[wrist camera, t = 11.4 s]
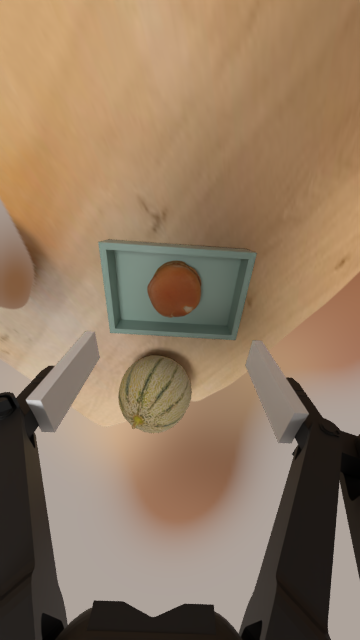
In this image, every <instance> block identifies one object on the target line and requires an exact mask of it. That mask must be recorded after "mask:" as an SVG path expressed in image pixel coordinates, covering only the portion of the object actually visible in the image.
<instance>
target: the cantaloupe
mask: <svg viewBox="0 0 360 640" xmlns="http://www.w3.org/2000/svg"><path fill="white" fill-rule="evenodd" d="M191 393H192V391H191V383H190V379H189V377H188V376H187V373H186V371H185V370H184V369H183V367H182V366H181V365H179V364H178V363H176V362H175V361H174V360H172V359H171V358H167V357H164V356H158V355H151V356H147V357H144V358H142V359H140V360H138V361H137V362H135V363H134V364H133V365H132V366H131V367H129V368H128V370H127V371H126V373H125V374H124V376H123V378H122V381H121V384H120V389H119V405H120V409H121V411H122V413H123V416H124V417H125V419H126V420H127V421H128V422H129V423H130V424H131V425H132V428H133V429H135V428H137V429H140V430H142V431H144V432H148V433H159V432H163V431H166V430H168V429H170V428H172V427H173V426H174V425H176V424H177V423H178V422H179V421H180V419H181V418H182V417H183V415H184V413H185V412H186V410H187V408H188V406H189V403H190V400H191Z"/></svg>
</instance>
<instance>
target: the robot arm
mask: <svg viewBox="0 0 360 640" xmlns="http://www.w3.org/2000/svg"><path fill="white" fill-rule="evenodd" d="M99 358H100V356H99V351H98V346H97V341H96V336H95V332H93V331H85V332H84V333H83V334H82V336H81V337H80V338H79V339H78V340H77V341H76V342H75V344H74V345H73V346H72V347H71V348H70V349H69V351H68V352H67V353H66V354H65V355H64V356H63V357H62V359H61V360H60V361H59V362H58V363H57V364H56V365H55V366H48V367H47V368H45V369H44V370H42V371H41V372H40V373H39V374H38V375H37V376H36V378H34V379H33V380H32V382H31V383H30V384H29V385H28V386H27V387H26V388H25V389H24V390H23V391H22V392H21V393H20V394H19V396H18V397H17V398H15V396H14V394H13V393H10V392H4V393H0V640H331V639H330V637H329V634H328V613H329V612H328V611H329V600H330V588H331V575H332V564H333V552H334V540H335V528H336V516H337V504H338V491H339V480H340V484H341V489H342V494H343V499H344V504H345V509H346V514H347V519H348V524H349V529H350V534H351V539H352V544H353V548H354V553H355V558H356V563H357V567H358V573H359V578H360V435H359V436H355V435H352V434H349V433H346V432H343V431H340V429H339V428H338V427H337V426H336V425H335V424H334V423H332V422H331V421H329V420H327V419H324V418H323V417H322V416H321V415H320V413H319V412H318V410H317V409H316V407H315V406H314V405H313V403H312V402H311V400H310V399H309V397H307V395H306V393H305V392H304V390H303V389H302V388H301V386H300V385H299V383H297V382H296V381H295V380H294V379H293V378H286V377H285V376H284V374H283V373H282V371H281V370H280V368H279V366H278V365H277V363H276V362H275V360H274V359H273V358H272V356H271V354H270V353H269V351H268V349H267V348H266V346H265V345H264V343H263V342H262V341H258V340H253V341H252V344H251V348H250V351H249V355H248V358H247V362H246V365H245V366H246V368H247V370H248V373H249V375H250V377H251V380H252V382H253V384H254V387H255V389H256V391H257V394H258V396H259V398H260V401H261V403H262V406H263V408H264V410H265V413H266V415H267V417H268V420H269V422H270V424H271V427H272V429H273V431H274V434H275V436H276V439H277V441H278V443H292V441H293V439H294V438H295V439H296V441H297V443H298V446H297V447H296V449H295V450H294V452H293V454H292V455H293V456H294V457H293V461H292V464H291V468H290V471H289V474H288V478H287V481H286V484H285V488H284V491H283V495H282V498H281V502H280V505H279V508H278V512H277V515H276V519H275V522H274V526H273V529H272V532H271V536H270V539H269V543H268V546H267V549H266V553H265V556H264V559H263V563H262V567H261V570H260V573H259V577H258V580H257V583H256V586H255V590H254V592H253V595H252V597H251V599H250V601H249V603H248V606H247V609H246V612H245V615H244V618H243V621H242V625H241V628H240V631H239V634H238V633H237V631H236V630H235V629H234V627H233V626H232V625H231V624H230V623H229V622H228V621H227V620H226V619H225V618H224V617H222V616H221V615H220V614H218V613H216V612H215V611H214V605H203V604H183V605H181V606H179V607H176V608H174V609H172V610H170V611H168V612H165V613H163V614H161V615H159V616H156V617H150V616H148V615H146V614H145V613H143V612H141V611H139V610H137V609H136V608H134V607H132V606H130V605H129V604H127V603H125V602H121V601H94V602H93V607H92V608H90V609H88V610H86V611H85V612H83V613H82V614H80V615H79V616H78V617H77V618H75V619H74V620H73V621H72V622H70V624H69V625H68V624H67V618H66V611H65V606H64V601H63V597H62V594H61V591H60V588H59V586H58V581H57V575H56V568H55V561H54V555H53V548H52V542H51V534H50V529H49V521H48V514H47V508H46V501H45V495H44V488H43V482H42V474H41V468H40V461H39V454H38V448H37V441H36V435H35V433H34V431H35V430H36V429H37V427H38V426H39V427H40V429H41V431H42V432H55V431H56V429H57V428H58V426H59V425H60V423H61V421H62V420H63V418H64V416H65V415H66V413H67V411H68V410H69V408H70V406H71V405H72V403H73V401H74V400H75V398H76V396H77V395H78V393H79V391H80V390H81V388H82V386H83V385H84V383H85V381H86V380H87V378H88V376H89V375H90V373H91V371H92V370H93V368H94V366H95V365H96V363H97V361H98V360H99Z"/></svg>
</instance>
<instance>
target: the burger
mask: <svg viewBox="0 0 360 640" xmlns="http://www.w3.org/2000/svg"><path fill="white" fill-rule="evenodd" d="M147 292H148V296H149V298H150V301H151V303H152V305H153V307H154V308H155V310H156V311H157V312H158V313H159V314H161V315H162V316H164V317H169V318H172V317H181V316H185V315H187V314H189V313H190V312H191V311H192V310H194V309H195V308H196V307H197V306H198V304H199V302H200V298H201V279H200V276H199V275H198V273H197V271H196V270H195V269H193V268H192V267H190V266H188V265H187V264H186V263H185V262H182V261H170V262H166V263H164V264H163V265H161V266H160V267H159V268H158V269H157V271H156V272H155V274H154V276H153V278H152V279H151V281H150V283H149V284H148V287H147Z"/></svg>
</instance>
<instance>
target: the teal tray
mask: <svg viewBox="0 0 360 640" xmlns="http://www.w3.org/2000/svg"><path fill="white" fill-rule="evenodd" d="M98 243H99V251H100V258H101V266H102V274H103V281H104V289H105V297H106V304H107V312H108V320H109V327H110V333H122V334H139V335H157V336H174V337H191V338H208V339H225V340H236V336H237V332H238V328H239V324H240V320H241V316H242V311H243V307H244V303H245V299H246V295H247V291H248V287H249V283H250V279H251V275H252V271H253V267H254V262H255V258H256V254H257V253H256V252H253V251H251V250H248V249H238V248H224V247H210V246H196V245H181V244H167V243H153V242H138V241H124V240H110V239H108V240H104V241H100V242H98ZM170 261H182V262H185V263H186V264H187V265H188V266H190V267H192V268H193V269H195V270H196V271H197V273H198V275H199V276H200V279H201V298H200V302H199V304H198V306H197V307H196V308H195V309H194V310H192V311H191V312H190V313H189V314H187V315H185V316H181V317H172V318H169V317H164V316H162V315H161V314H159V313H158V312H157V311H156V310H155V308H154V307H153V305H152V303H151V301H150V298H149V296H148V292H147V287H148V284H149V283H150V281H151V279H152V278H153V276H154V274H155V272H156V271H157V269H158V268H159V267H160V266H161V265H163V264H164V263H166V262H170Z"/></svg>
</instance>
